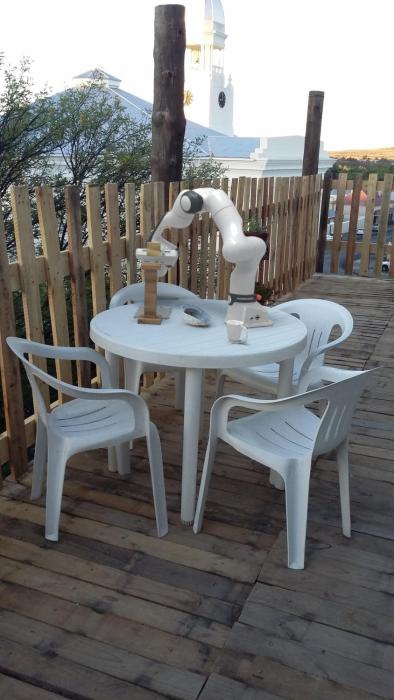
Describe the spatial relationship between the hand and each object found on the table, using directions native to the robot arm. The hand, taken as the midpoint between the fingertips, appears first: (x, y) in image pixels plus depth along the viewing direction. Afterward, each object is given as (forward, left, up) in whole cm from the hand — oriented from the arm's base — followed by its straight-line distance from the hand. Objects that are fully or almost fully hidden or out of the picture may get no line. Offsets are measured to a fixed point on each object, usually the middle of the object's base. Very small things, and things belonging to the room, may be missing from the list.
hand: (155, 248), depth 271 cm
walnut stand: (+8, +21, -30) cm, 37 cm away
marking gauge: (+2, +5, -2) cm, 5 cm away
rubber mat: (+2, +5, -30) cm, 30 cm away
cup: (-18, +60, -30) cm, 70 cm away
